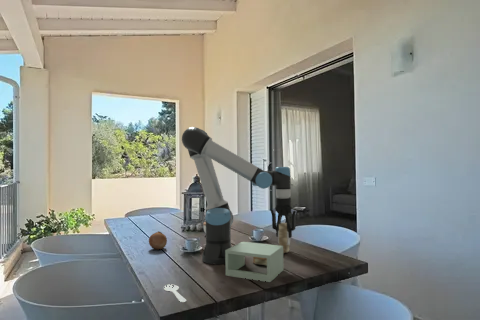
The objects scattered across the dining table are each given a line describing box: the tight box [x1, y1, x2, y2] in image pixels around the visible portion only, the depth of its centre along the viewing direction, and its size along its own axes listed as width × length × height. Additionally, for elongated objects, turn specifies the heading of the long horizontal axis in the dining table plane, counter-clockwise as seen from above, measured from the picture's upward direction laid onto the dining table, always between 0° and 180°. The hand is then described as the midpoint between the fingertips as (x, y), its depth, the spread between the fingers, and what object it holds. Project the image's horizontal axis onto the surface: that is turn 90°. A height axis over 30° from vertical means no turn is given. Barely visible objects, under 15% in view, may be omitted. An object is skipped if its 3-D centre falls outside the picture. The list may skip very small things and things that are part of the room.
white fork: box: [163, 283, 187, 303], centre depth 120 cm, size 5×18×1 cm, turn 28°
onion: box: [148, 231, 168, 251], centre depth 180 cm, size 10×9×10 cm
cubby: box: [225, 241, 284, 283], centre depth 141 cm, size 19×16×10 cm
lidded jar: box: [202, 221, 206, 234], centre depth 213 cm, size 11×11×9 cm
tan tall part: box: [255, 222, 290, 266], centre depth 162 cm, size 7×27×14 cm, turn 154°
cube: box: [252, 257, 266, 265], centre depth 155 cm, size 5×5×5 cm
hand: (284, 243), depth 172 cm, fingers closed on tan tall part, 4 cm apart
